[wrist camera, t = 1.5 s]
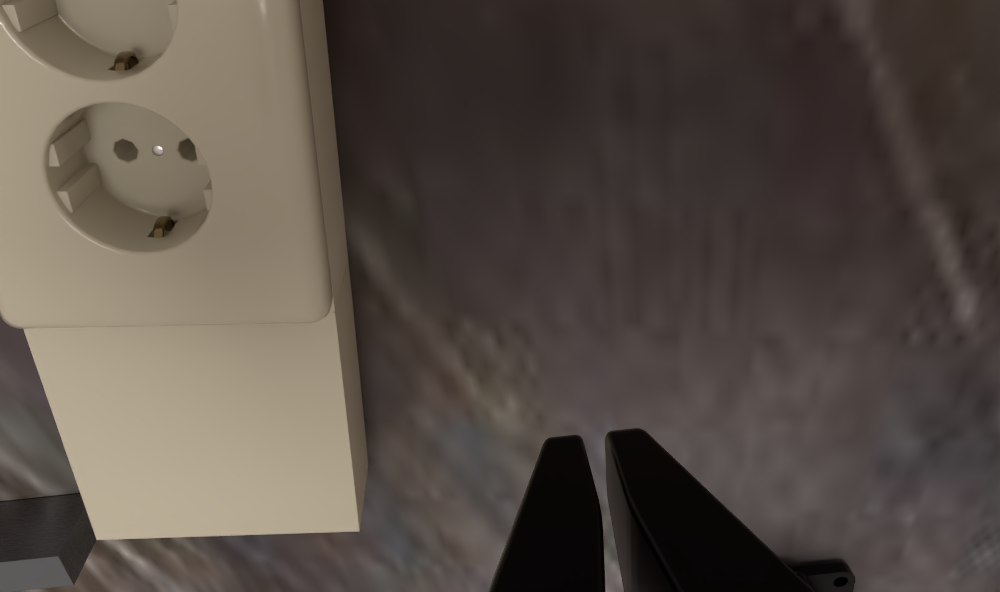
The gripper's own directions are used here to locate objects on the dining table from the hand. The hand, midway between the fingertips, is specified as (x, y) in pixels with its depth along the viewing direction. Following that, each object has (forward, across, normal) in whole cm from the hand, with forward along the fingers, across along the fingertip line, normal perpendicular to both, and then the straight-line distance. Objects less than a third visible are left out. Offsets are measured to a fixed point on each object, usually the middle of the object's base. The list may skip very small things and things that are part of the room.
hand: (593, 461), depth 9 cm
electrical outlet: (+13, +8, +1) cm, 15 cm away
